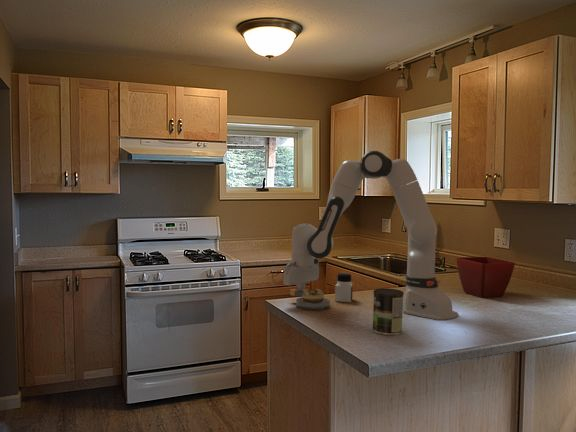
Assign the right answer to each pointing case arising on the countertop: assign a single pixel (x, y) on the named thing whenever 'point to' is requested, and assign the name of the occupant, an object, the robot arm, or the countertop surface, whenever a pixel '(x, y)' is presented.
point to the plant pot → (484, 275)
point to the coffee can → (387, 311)
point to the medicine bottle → (343, 288)
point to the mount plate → (312, 304)
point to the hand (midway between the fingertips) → (301, 292)
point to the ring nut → (308, 295)
